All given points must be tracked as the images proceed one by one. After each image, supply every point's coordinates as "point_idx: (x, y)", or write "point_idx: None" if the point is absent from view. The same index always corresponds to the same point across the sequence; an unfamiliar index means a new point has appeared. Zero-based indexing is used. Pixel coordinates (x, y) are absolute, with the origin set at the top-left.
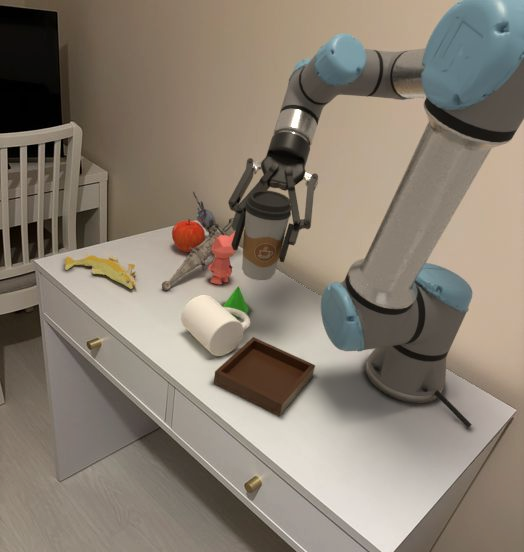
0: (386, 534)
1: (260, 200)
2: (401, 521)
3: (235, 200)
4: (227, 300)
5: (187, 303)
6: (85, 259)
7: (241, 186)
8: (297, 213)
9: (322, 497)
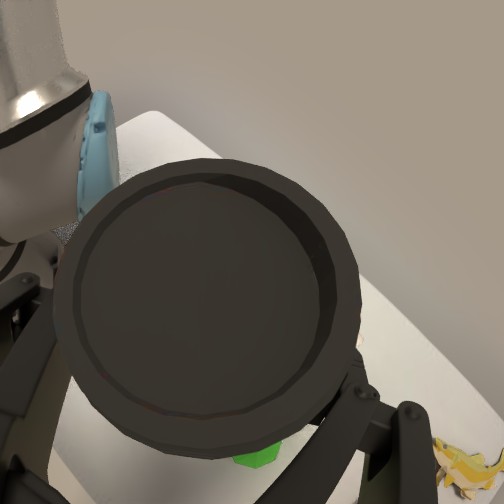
0: (147, 115)
1: (268, 295)
2: (131, 123)
3: (401, 419)
4: (274, 444)
5: (362, 341)
6: (495, 471)
7: (411, 493)
8: (45, 309)
9: (183, 130)
